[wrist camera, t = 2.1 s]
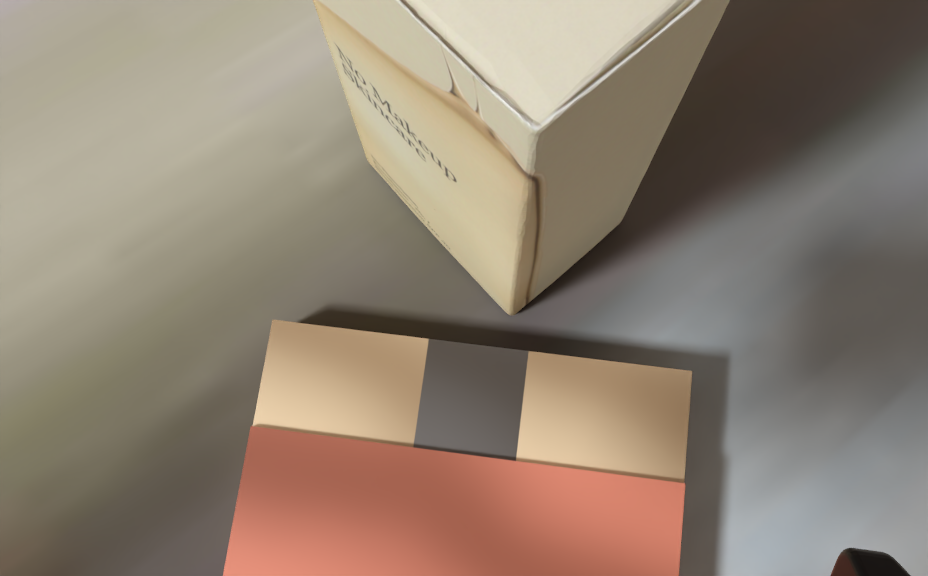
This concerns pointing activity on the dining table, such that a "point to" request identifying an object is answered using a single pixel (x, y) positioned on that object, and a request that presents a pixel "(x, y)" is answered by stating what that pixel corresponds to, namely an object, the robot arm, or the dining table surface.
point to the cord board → (457, 461)
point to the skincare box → (516, 117)
